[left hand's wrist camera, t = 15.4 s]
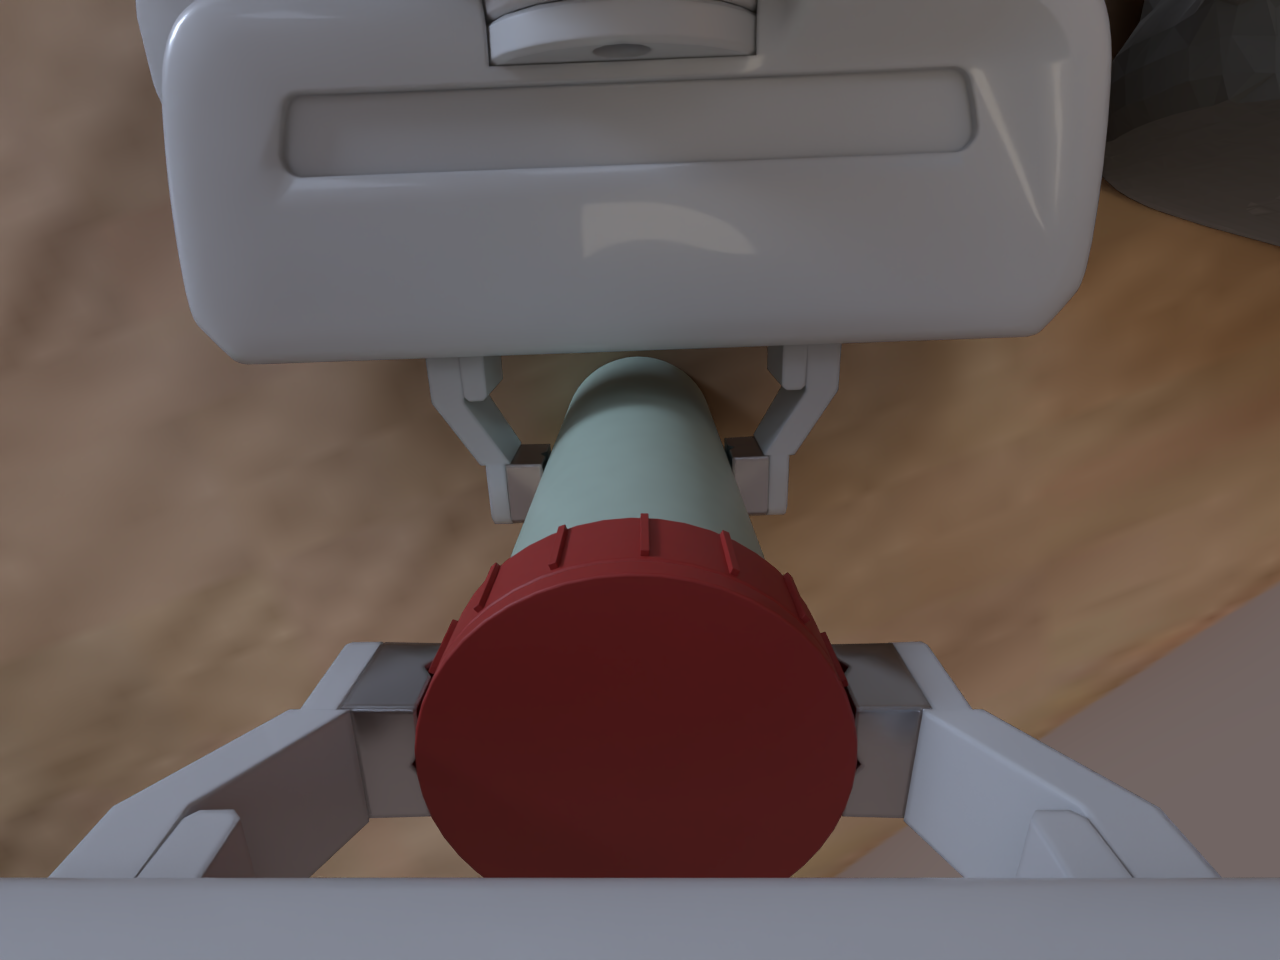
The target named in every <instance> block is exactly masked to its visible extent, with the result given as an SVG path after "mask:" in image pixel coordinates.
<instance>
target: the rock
mask: <svg viewBox="0 0 1280 960" xmlns="http://www.w3.org/2000/svg"><path fill="white" fill-rule="evenodd" d="M1102 176H1103V177H1104V179H1105V180H1106V181H1107V182H1109V183H1110V184H1111V185H1112V186H1113V187H1114V188H1115V189H1117V190H1118V191H1120V192H1121V193H1123V194H1124V195H1126V196H1127V197H1129V198H1131V199H1133V200H1135V201H1137V202H1139V203H1141V204H1143V205H1146V206H1148V207H1151V208H1153V209H1156V210H1159V211H1161V212H1164V213H1167V214H1170V215H1173V216H1176V217H1179V218H1182V219H1185V220H1188V221H1192V222H1195V223H1198V224H1201V225H1204V226H1208V227H1211V228H1215V229H1218V230H1222V231H1226V232H1229V233H1233V234H1237V235H1240V236H1244V237H1248V238H1251V239H1255V240H1259V241H1262V242H1266V243H1270V244H1273V245H1277V246H1280V0H1144V5H1143V9H1142V14H1141V18H1140V22H1139V24H1138V25H1137V27H1136V28H1135V30H1134V31H1133V33H1132V34H1131V36H1130V37H1129V39H1128V40H1127V41H1126V43H1125V44H1124V46H1123V47H1122V49H1121V50H1120V51H1119V53H1118V54H1117V56H1116V57H1115V58H1114V60H1113V61H1112V64H1111V86H1110V100H1109V114H1108V126H1107V136H1106V145H1105V155H1104V164H1103V172H1102Z"/></svg>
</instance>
